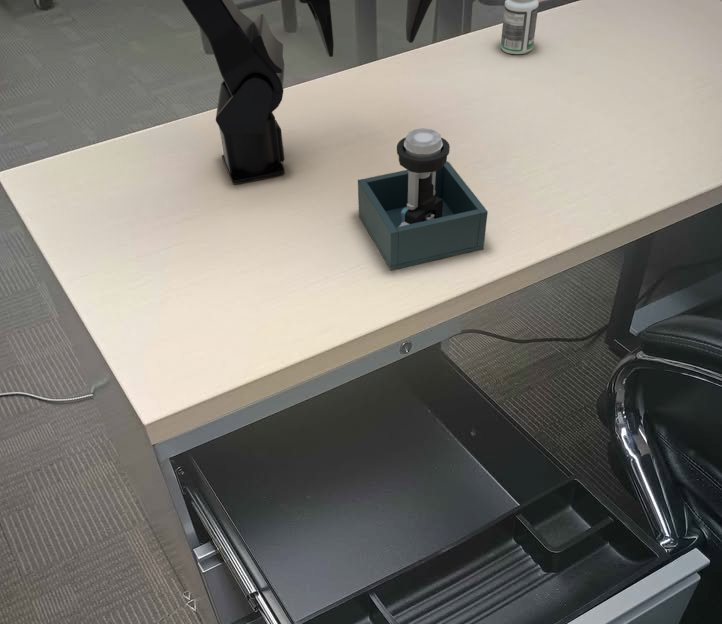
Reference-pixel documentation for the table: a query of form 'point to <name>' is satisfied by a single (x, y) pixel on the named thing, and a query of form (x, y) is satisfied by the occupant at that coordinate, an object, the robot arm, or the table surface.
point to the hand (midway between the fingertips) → (370, 48)
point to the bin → (428, 238)
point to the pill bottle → (519, 26)
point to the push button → (422, 173)
